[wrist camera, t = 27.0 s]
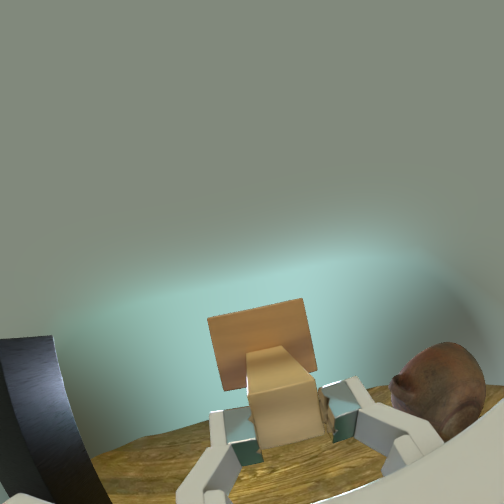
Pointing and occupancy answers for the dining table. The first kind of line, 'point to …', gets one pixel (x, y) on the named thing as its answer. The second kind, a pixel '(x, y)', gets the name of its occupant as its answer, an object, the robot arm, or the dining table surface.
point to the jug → (441, 388)
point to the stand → (41, 428)
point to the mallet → (271, 369)
